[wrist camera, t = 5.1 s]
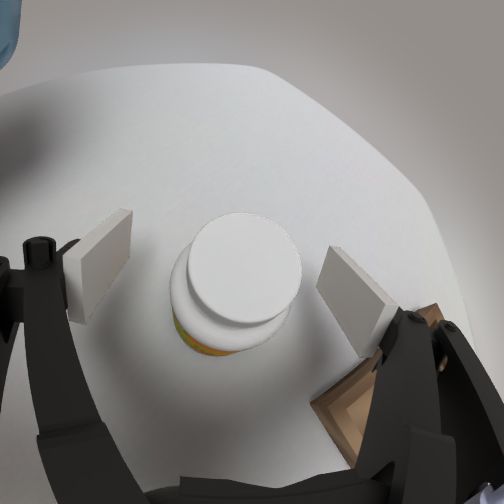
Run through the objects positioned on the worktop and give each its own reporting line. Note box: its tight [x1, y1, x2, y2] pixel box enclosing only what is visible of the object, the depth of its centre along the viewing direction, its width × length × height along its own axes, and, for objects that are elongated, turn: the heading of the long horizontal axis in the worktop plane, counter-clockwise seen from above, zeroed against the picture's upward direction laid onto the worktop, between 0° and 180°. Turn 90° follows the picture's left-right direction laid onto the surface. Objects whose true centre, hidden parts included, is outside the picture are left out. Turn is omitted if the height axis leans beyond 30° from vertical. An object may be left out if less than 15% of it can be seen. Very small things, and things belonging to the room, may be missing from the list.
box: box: [310, 303, 447, 469], centre depth 17 cm, size 13×13×2 cm
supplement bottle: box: [170, 213, 302, 356], centre depth 14 cm, size 5×5×10 cm
